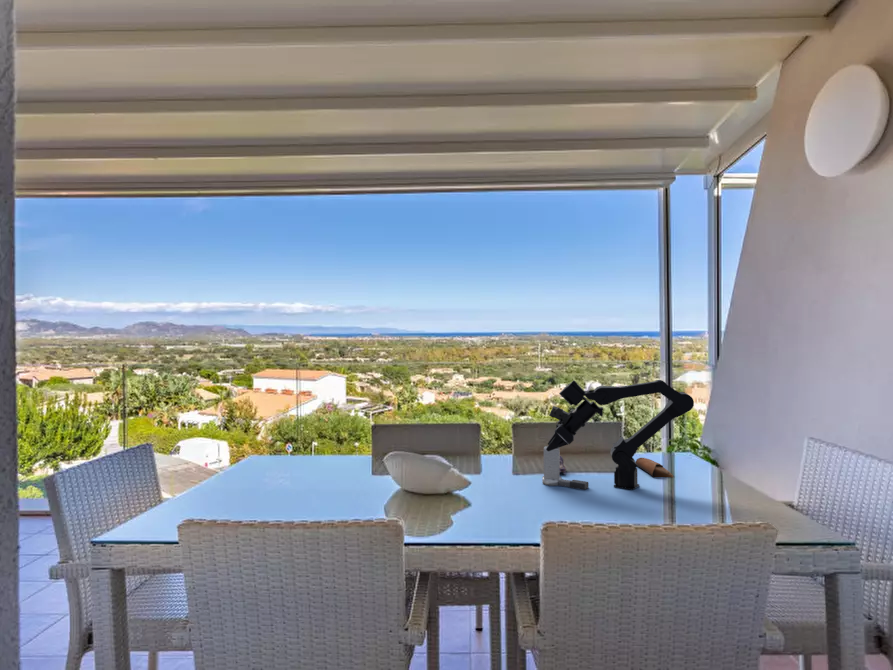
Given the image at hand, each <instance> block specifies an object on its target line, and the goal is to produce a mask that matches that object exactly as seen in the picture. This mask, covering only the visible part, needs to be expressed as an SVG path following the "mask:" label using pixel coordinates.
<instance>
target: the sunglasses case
mask: <svg viewBox="0 0 893 670" xmlns="http://www.w3.org/2000/svg"><path fill="white" fill-rule="evenodd" d="M635 462H636V464H637V467H638V468H640V469H642V470H643V471H644V472H646V473H648V474H649V475H650V476H652V478H654V477H671V478H674V477H673V476H674V475H673V474H672V473H671V471H669V470H667V469H666V467H664V465H662V464H661V463H658V462H656V461H654V460H652V459H649V458H645V457H639V458H637V459H635ZM637 467H636V468H637Z"/></svg>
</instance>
